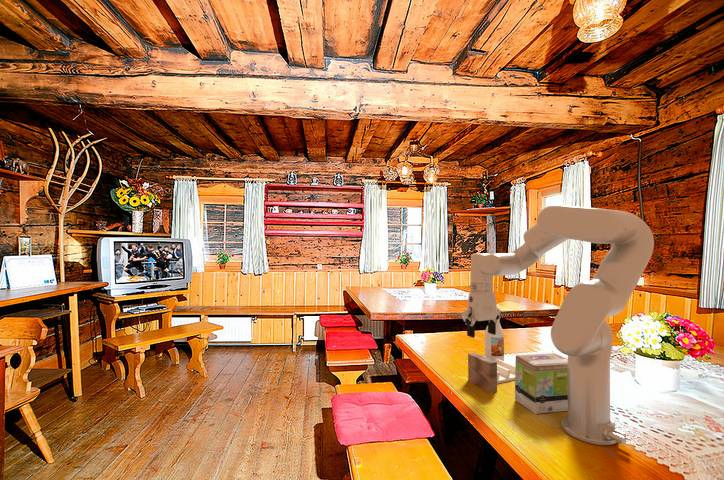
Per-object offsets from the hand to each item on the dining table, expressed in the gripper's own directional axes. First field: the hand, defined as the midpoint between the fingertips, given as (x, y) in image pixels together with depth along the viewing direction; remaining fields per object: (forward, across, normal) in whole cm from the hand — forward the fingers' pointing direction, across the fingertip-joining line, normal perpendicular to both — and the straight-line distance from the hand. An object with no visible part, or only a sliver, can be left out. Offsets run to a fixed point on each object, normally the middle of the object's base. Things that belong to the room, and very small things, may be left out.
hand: (481, 335), depth 119 cm
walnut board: (+18, 0, 0) cm, 18 cm away
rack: (+18, +13, +6) cm, 23 cm away
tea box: (+18, +8, -19) cm, 28 cm away
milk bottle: (+18, +24, +18) cm, 35 cm away
